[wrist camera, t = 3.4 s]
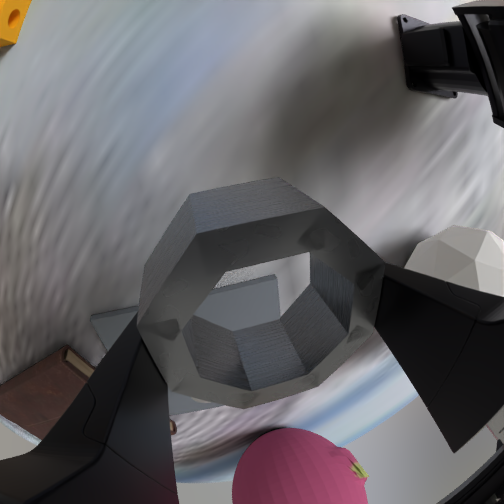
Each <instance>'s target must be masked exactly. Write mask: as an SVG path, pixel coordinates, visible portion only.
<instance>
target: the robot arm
mask: <svg viewBox="0 0 504 504" xmlns="http://www.w3.org/2000/svg"><path fill="white" fill-rule="evenodd" d="M452 9H453V11H454V13H455V15H457V16H458V18H459V20H460V21H456V22H446V23H438V24H429V23H426V22H423V21H421V20H418V19H415V18H413V17H410V16H407V15H404V14H402V15H399V16H398V17H397V20H398V25H399V31H400V36H401V42H402V49H403V56H404V64H405V73H406V83H407V87H408V88H409V89H410V90H412V91H418V92H424V93H430V94H435V95H440V96H445V97H449V98H457V92H464V93H472V94H479V95H486V96H488V97H489V101H490V105H491V109H492V113H493V115H492V117H493V122H494V123H495V124H497V125H499V126H501V127H503V128H504V0H478V1H473V2H469V3H465V4H462V5H458V6H455V7H452ZM403 20H404V21H403ZM412 83H413V85H412ZM137 318H138V312H137V313H136V314H135V316H134V317H133V318H132V320H131V321H130V322H129V324H128V325H127V326H126V328H125V329H124V330H123V332H122V333H121V334H120V336H119V337H118V338H117V340H116V341H115V342H114V344H113V345H112V346H111V348H110V349H109V351H108V352H107V353H106V355H105V356H104V358H103V359H102V360H101V362H100V363H99V365H98V366H97V367H96V369H95V370H94V372H93V373H92V374H91V376H90V377H89V379H88V380H87V383H85V384H84V386H83V387H82V389H81V390H80V392H79V393H78V394H77V396H76V397H75V399H74V400H73V401H72V403H71V404H70V406H69V407H68V408H67V409H66V411H65V412H64V413H63V415H62V416H61V417H60V418H59V420H58V421H57V422H56V423H55V425H54V426H53V427H52V428H51V430H50V431H49V432H48V433H47V435H46V436H45V437H44V438H43V440H42V441H41V442H40V443H39V444H38V446H36V447H35V448H34V449H33V450H31V451H30V452H28V453H26V454H23V455H20V456H16V457H12V458H8V459H4V460H0V504H179V500H178V495H177V486H176V479H175V471H174V462H173V453H172V443H171V431H170V418H169V401H168V385H167V383H166V381H165V380H164V378H163V376H162V374H161V372H160V371H159V369H158V367H157V365H156V363H155V362H154V360H153V358H152V356H151V354H150V352H149V350H148V348H147V346H146V345H145V343H144V341H143V339H142V337H141V335H140V333H139V331H138V328H137ZM374 327H375V329H376V330H377V331H378V333H379V334H380V336H381V337H382V339H383V340H384V342H385V343H386V345H387V346H388V348H389V349H390V351H391V352H392V354H393V355H394V357H395V358H396V360H397V361H398V363H399V364H400V366H401V367H402V369H403V370H404V372H405V373H406V375H407V377H408V378H409V380H410V381H411V383H412V384H413V386H414V388H415V389H416V391H417V392H418V394H419V396H420V397H421V399H422V400H423V402H424V404H425V405H426V407H428V408H427V409H428V411H429V412H430V414H431V416H432V417H433V419H434V421H435V422H436V424H437V426H438V427H439V429H440V431H441V432H442V434H443V436H444V438H445V439H446V441H447V443H448V445H449V447H450V448H451V450H452V452H453V453H455V452H457V451H458V450H459V449H460V448H462V447H463V446H464V445H465V444H466V443H468V442H469V441H470V440H471V439H472V438H473V437H474V436H476V435H477V434H478V433H479V432H480V431H481V430H482V429H483V428H484V427H485V426H487V428H488V429H489V430H490V432H491V433H492V434H493V436H494V437H495V438H496V440H497V449H496V453H495V454H494V455H493V456H492V457H491V458H490V459H489V460H488V461H487V462H486V463H485V464H484V465H483V466H482V467H480V468H479V469H478V470H477V471H476V472H475V473H474V474H473V475H472V476H470V477H469V478H468V479H467V480H466V481H465V482H464V483H462V484H461V485H460V486H459V487H458V488H456V489H455V490H454V491H453V492H451V493H450V494H449V495H447V496H446V497H445V498H443V499H442V500H441V501H439V502H438V503H437V504H504V297H502V296H498V295H494V294H491V293H487V292H483V291H479V290H475V289H471V288H467V287H464V286H461V285H457V284H454V283H451V282H448V281H446V282H445V281H444V280H441V279H438V278H435V277H432V276H428V275H425V274H422V273H419V272H415V271H412V270H409V269H405V268H402V267H399V266H395V265H392V264H389V263H385V269H384V276H383V282H382V288H381V294H380V300H379V305H378V310H377V316H376V320H375V325H374Z"/></svg>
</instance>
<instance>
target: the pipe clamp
mask: <svg viewBox="0 0 504 504" xmlns="http://www.w3.org/2000/svg"><path fill="white" fill-rule="evenodd" d="M31 1H32V0H0V47H3V46H7V45H11V44H16V42H17V39H18V36H19V33H20V30H21V27H22V24H23V21H24V18H25V16H26V13H27V11H28V8H29V6H30V3H31Z"/></svg>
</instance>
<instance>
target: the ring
mask: <svg viewBox="0 0 504 504" xmlns="http://www.w3.org/2000/svg"><path fill="white" fill-rule="evenodd" d="M306 252H310V284H309V286H308V287H307V288H306V289H305V290H304V291H303V293H302V294H301V295H300V296H299V297H298V298H297V299H296V301H295V302H294V303H293V304H292V305H291V306H290V307H289V309H288V310H287V311H286V312H285V313H284V314H283V315H282V317H281V318H280V319H277V320H274V321H270V322H266V323H263V324H259V325H255V326H251V327H247V328H244V329H240V330H236V331H231V330H229V329H226V328H224V327H222V326H219V325H217V324H214V323H212V322H210V321H207V320H205V319H203V318H200V317H198V316H196V315H193V314H194V313H195V312H196V310H197V309H198V308H199V306H200V305H201V304H202V302H203V301H204V300H205V298H206V297H207V296H208V294H209V293H210V292H211V290H212V289H213V288H214V287H215V285H216V284H217V283H218V281H219V280H220V279H221V277H222V276H223V275H224V273H225V272H226V271H231V270H235V269H239V268H243V267H248V266H252V265H256V264H260V263H264V262H269V261H273V260H277V259H281V258H285V257H289V256H294V255H298V254H302V253H306ZM384 269H385V262H384V261H383V260H382V259H381V258H380V257H379V256H378V255H377V254H376V253H375V252H374V251H373V250H372V249H371V248H370V247H369V246H367V245H366V244H365V243H364V242H363V241H362V240H361V239H360V238H359V237H358V236H357V235H356V234H354V233H353V232H352V231H351V230H350V229H349V228H348V227H347V226H346V225H344V224H343V223H342V222H341V221H340V220H339V219H338V218H337V217H335V216H334V215H333V214H332V213H331V212H330V211H328V210H327V209H326V208H325V207H324V206H322V205H321V204H319V203H318V202H316V201H315V200H313V199H312V198H310V197H309V196H307V195H306V194H304V193H303V192H301V191H300V190H298V189H297V188H295V187H293V186H292V185H290V184H289V183H287V182H286V181H284V180H282V179H281V178H279V177H277V178H271V179H265V180H259V181H253V182H248V183H243V184H237V185H232V186H227V187H222V188H217V189H212V190H207V191H202V192H198V193H193V194H190V195H189V196H188V198H187V199H186V201H185V202H184V204H183V205H182V207H181V208H180V210H179V211H178V213H177V214H176V216H175V217H174V219H173V220H172V222H171V224H170V225H169V227H168V228H167V230H166V231H165V233H164V235H163V236H162V238H161V239H160V241H159V243H158V244H157V246H156V247H155V249H154V251H153V252H152V254H151V256H150V257H149V259H148V261H147V262H146V264H145V267H144V273H143V280H142V286H141V294H140V301H139V309H138V318H137V328H138V331H139V333H140V335H141V337H142V339H143V341H144V343H145V345H146V346H147V348H148V350H149V352H150V354H151V356H152V358H153V360H154V362H155V363H156V365H157V367H158V369H159V371H160V372H161V374H162V376H163V378H164V380H165V381H166V383H167V385H168V386H169V388H170V390H171V392H175V393H178V394H182V395H185V396H189V397H193V398H197V399H200V400H204V401H209V402H213V403H217V404H222V405H226V406H231V407H236V408H241V409H246V408H250V407H254V406H257V405H261V404H265V403H268V402H272V401H275V400H278V399H282V398H285V397H288V396H291V395H294V394H297V393H300V392H303V391H306V390H309V389H312V388H315V387H318V386H319V385H320V384H321V383H322V382H323V381H325V380H326V379H327V378H328V377H329V376H330V375H331V374H332V373H333V372H334V371H335V370H337V369H338V368H339V367H340V366H341V365H342V364H343V363H344V362H345V361H346V360H347V359H348V358H349V357H350V356H351V355H352V354H353V353H354V352H355V351H356V350H357V349H358V348H359V347H360V346H361V345H362V344H363V343H364V342H365V341H366V340H367V339H368V338H369V337H370V335H371V334H372V333H373V330H374V325H375V320H376V316H377V310H378V305H379V300H380V294H381V288H382V282H383V276H384Z"/></svg>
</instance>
